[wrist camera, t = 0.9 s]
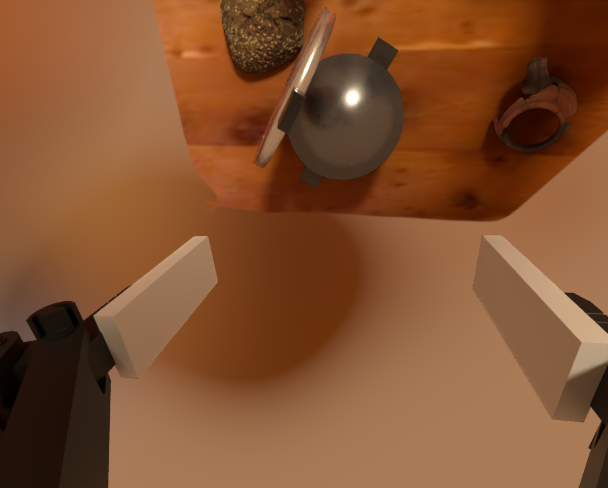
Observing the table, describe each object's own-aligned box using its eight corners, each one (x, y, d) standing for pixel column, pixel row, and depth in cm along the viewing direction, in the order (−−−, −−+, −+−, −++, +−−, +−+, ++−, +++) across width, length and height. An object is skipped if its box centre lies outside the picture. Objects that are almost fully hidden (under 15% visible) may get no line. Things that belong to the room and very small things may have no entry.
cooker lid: (360, -6, 20) (344, -17, 19) (253, 205, 27) (241, 200, 27) (324, 22, 37) (316, 16, 36) (266, 146, 44) (258, 142, 44)
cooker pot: (428, 82, 45) (443, 78, 37) (352, 196, 55) (350, 212, 47) (331, 18, 44) (324, -1, 36) (270, 146, 53) (254, 153, 45)
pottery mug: (576, 117, 44) (580, 148, 40) (501, 136, 51) (496, 164, 46) (572, 31, 38) (576, 56, 34) (487, 65, 44) (481, 89, 40)
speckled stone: (234, 76, 50) (222, 74, 46) (219, -17, 45) (203, -31, 40) (310, 67, 47) (304, 63, 43) (302, -34, 42) (295, -50, 38)
